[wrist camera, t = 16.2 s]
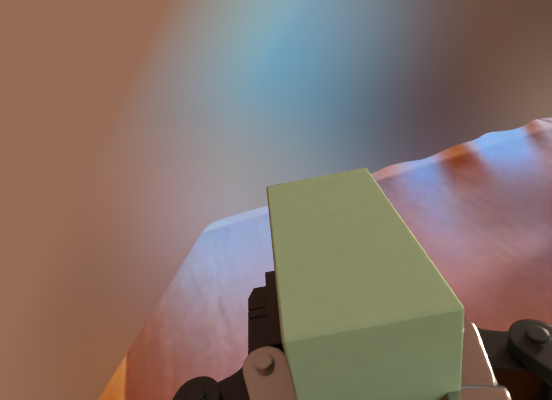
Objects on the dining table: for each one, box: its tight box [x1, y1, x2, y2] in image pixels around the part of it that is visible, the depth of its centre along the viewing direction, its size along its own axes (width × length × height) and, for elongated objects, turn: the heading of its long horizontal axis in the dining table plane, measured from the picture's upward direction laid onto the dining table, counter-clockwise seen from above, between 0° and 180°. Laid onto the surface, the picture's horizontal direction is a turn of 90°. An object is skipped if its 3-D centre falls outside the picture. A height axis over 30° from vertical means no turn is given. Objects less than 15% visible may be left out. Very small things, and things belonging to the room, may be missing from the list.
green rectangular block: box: [267, 168, 464, 400], centre depth 13 cm, size 4×7×11 cm, turn 4°
